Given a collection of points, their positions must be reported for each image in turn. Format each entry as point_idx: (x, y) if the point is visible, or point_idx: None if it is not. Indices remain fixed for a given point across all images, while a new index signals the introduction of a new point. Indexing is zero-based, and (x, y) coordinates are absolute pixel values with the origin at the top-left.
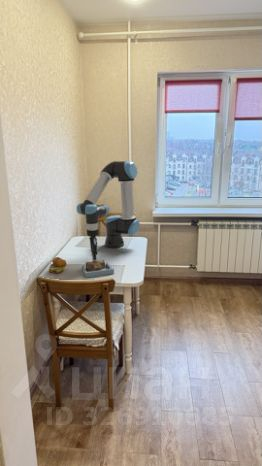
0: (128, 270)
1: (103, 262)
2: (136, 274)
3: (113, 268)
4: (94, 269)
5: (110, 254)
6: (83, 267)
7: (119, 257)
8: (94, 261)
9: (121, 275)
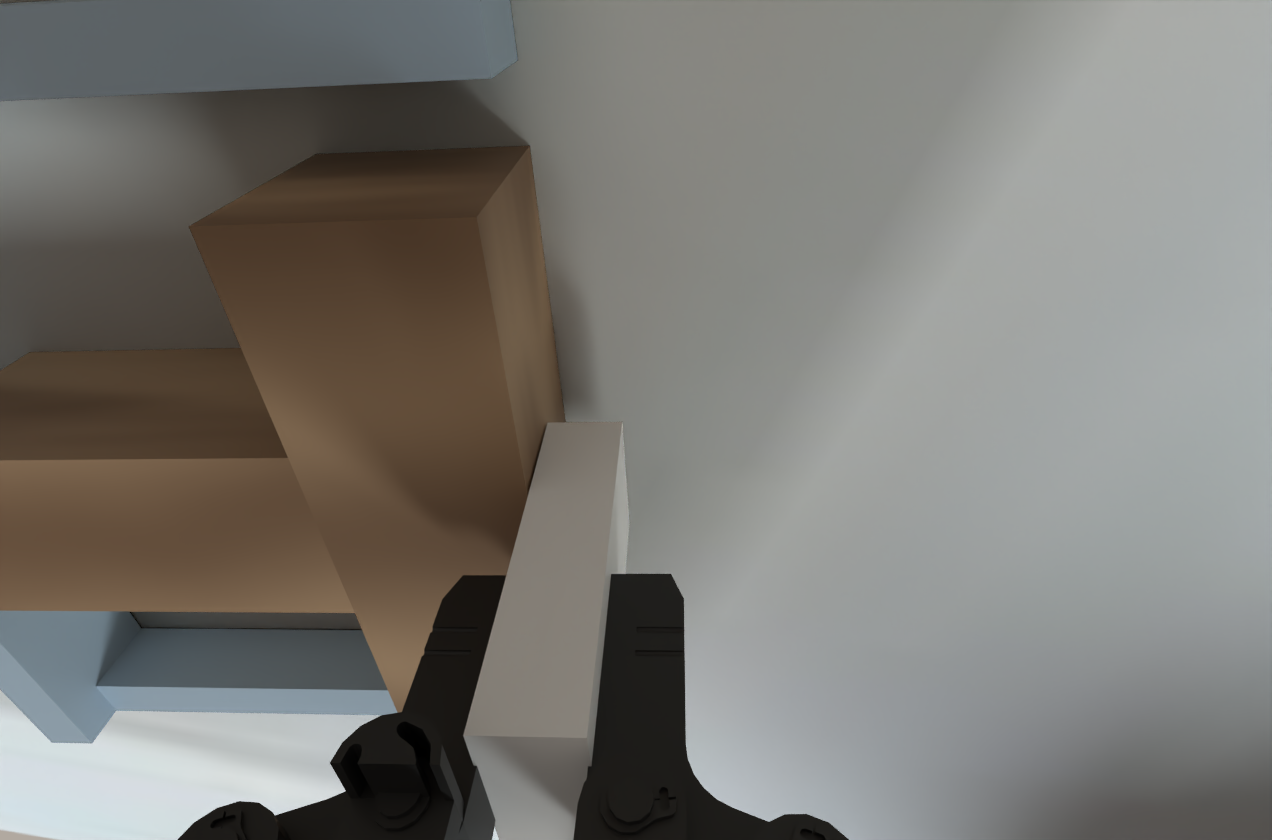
0: (269, 804)
1: (395, 691)
2: (116, 830)
3: (77, 742)
4: (131, 390)
5: (1163, 785)
6: (266, 40)
7: (892, 837)
8: (507, 535)
9: None
